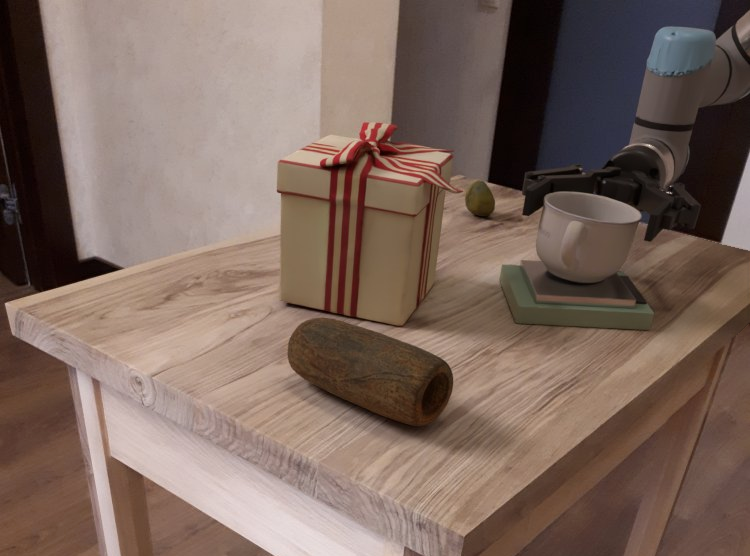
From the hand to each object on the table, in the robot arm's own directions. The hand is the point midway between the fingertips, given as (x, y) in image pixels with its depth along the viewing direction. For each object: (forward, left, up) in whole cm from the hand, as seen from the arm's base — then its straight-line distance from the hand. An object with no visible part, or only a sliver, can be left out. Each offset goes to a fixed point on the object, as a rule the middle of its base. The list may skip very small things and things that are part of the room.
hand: (587, 215), depth 85 cm
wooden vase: (+23, +24, -11) cm, 35 cm away
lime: (+6, -35, -11) cm, 37 cm away
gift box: (+22, -2, -11) cm, 25 cm away
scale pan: (-1, -2, -9) cm, 9 cm away
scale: (-1, -2, -11) cm, 11 cm away
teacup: (0, -2, -8) cm, 8 cm away
